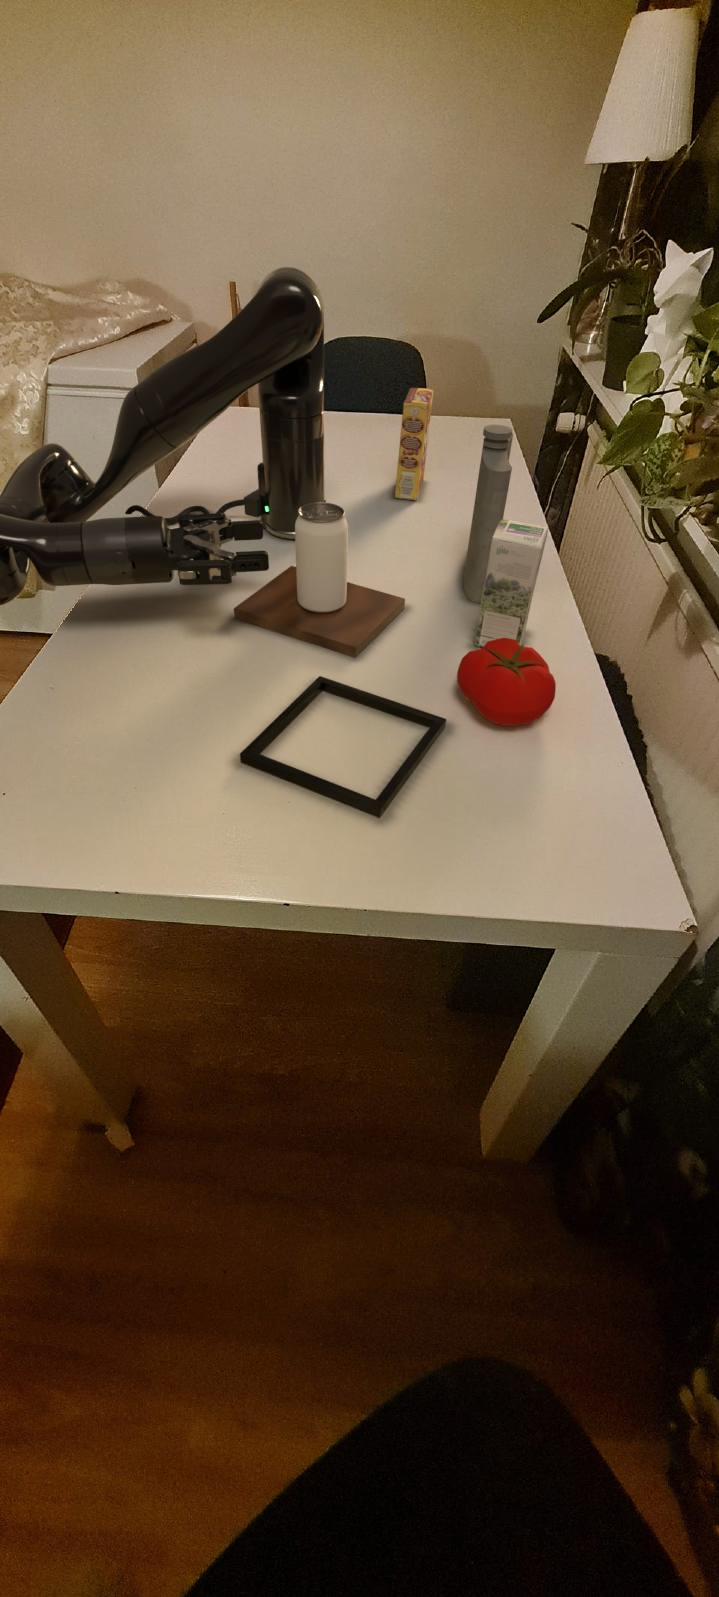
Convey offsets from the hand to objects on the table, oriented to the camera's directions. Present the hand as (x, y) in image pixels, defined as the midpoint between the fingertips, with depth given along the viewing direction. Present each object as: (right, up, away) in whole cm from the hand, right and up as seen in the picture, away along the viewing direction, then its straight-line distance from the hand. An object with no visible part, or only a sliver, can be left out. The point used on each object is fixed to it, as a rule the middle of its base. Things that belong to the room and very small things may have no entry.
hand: (265, 544), depth 86 cm
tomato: (+28, -20, -5) cm, 35 cm away
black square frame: (+10, -25, -11) cm, 29 cm away
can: (+7, -5, +7) cm, 11 cm away
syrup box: (+29, -11, +5) cm, 32 cm away
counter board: (+6, -6, +8) cm, 12 cm away
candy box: (+20, +24, +39) cm, 50 cm away
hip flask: (+29, +1, +17) cm, 33 cm away
